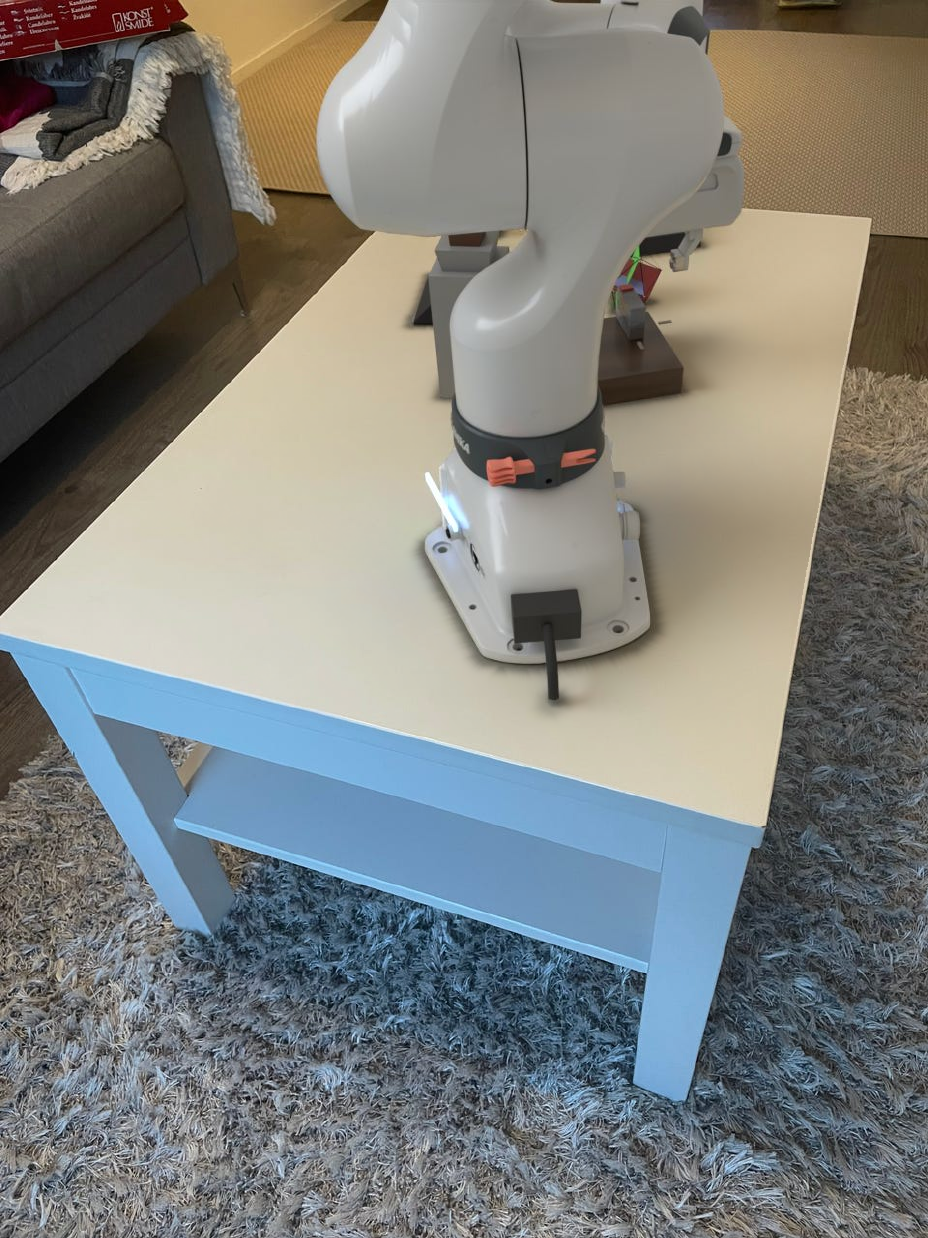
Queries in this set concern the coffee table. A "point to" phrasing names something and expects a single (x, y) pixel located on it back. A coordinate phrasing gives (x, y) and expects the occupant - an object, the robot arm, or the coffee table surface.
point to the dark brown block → (636, 363)
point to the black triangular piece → (424, 309)
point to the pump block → (662, 243)
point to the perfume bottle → (456, 289)
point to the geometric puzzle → (637, 277)
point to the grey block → (630, 312)
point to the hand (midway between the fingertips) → (634, 275)
